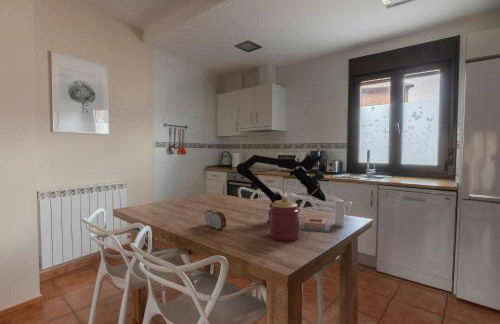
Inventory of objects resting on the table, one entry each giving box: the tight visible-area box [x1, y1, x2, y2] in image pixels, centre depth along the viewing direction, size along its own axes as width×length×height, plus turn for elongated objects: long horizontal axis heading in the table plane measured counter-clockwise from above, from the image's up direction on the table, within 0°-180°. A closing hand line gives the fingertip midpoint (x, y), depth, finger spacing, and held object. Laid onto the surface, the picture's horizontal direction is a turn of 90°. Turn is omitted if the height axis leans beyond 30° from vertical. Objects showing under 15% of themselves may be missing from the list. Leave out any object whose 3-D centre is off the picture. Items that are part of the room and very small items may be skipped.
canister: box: [269, 196, 301, 242], centre depth 114 cm, size 13×13×18 cm
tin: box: [204, 208, 227, 231], centre depth 128 cm, size 15×3×8 cm, turn 41°
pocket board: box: [300, 217, 331, 233], centre depth 129 cm, size 13×13×3 cm
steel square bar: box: [334, 199, 345, 227], centre depth 132 cm, size 4×4×12 cm
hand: (325, 199), depth 134 cm, fingers open, 9 cm apart
